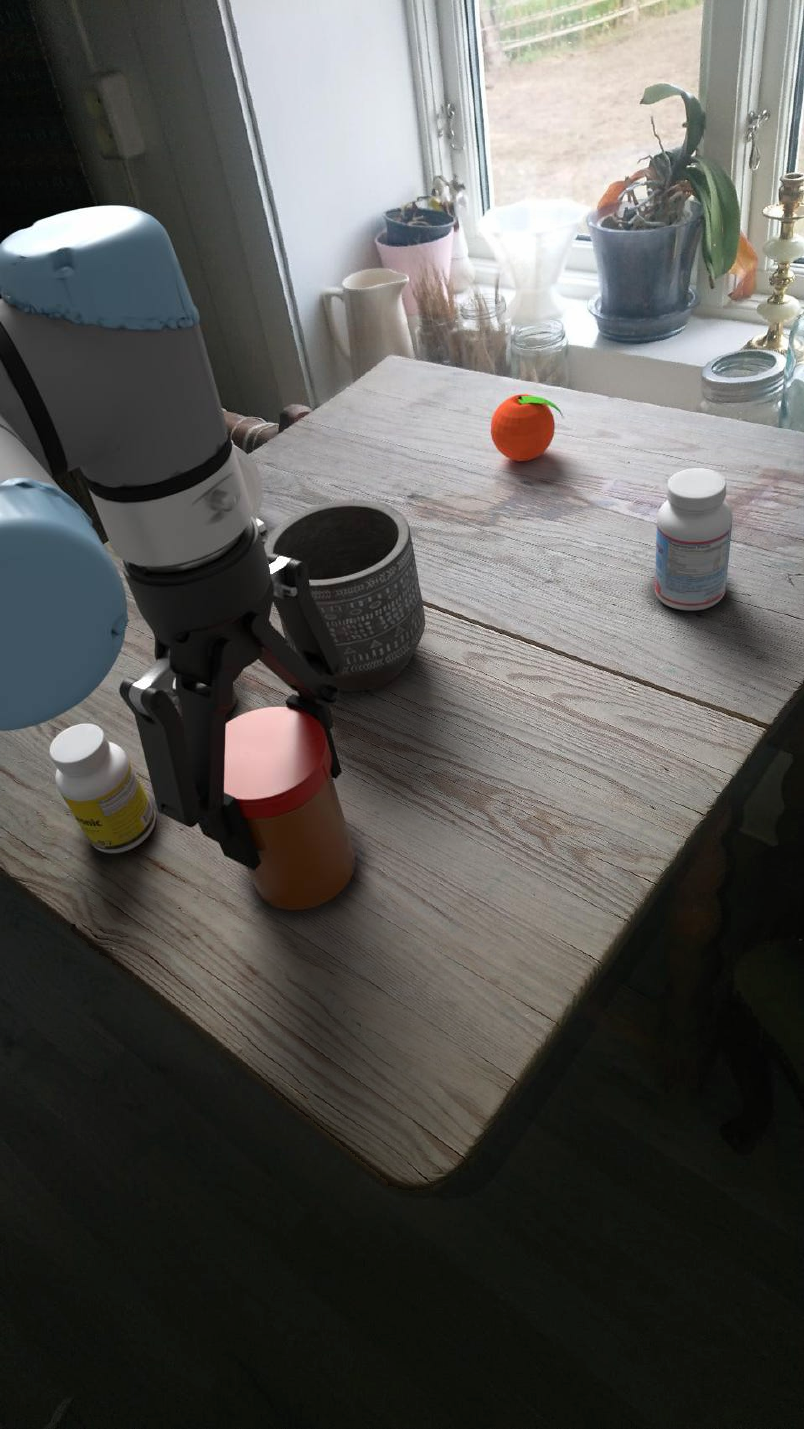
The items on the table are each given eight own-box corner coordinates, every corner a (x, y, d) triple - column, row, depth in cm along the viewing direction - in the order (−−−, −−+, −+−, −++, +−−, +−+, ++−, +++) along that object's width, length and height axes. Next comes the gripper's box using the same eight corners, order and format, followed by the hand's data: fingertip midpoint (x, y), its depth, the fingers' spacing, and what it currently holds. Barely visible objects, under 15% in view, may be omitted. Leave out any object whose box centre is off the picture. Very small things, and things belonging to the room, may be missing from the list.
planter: (351, 603, 93) (324, 486, 84) (457, 638, 87) (439, 516, 78) (268, 680, 87) (230, 562, 78) (376, 724, 81) (348, 601, 72)
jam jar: (233, 894, 70) (186, 788, 62) (285, 816, 75) (246, 708, 67) (325, 923, 67) (287, 815, 59) (372, 840, 72) (343, 730, 64)
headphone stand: (206, 534, 106) (172, 433, 98) (253, 510, 108) (224, 410, 100) (226, 550, 103) (193, 447, 95) (274, 525, 105) (246, 423, 97)
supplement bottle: (77, 831, 77) (26, 745, 70) (135, 791, 79) (91, 704, 73) (111, 868, 74) (61, 781, 67) (170, 825, 76) (127, 737, 69)
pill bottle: (665, 567, 90) (670, 458, 82) (732, 578, 87) (744, 467, 80) (645, 606, 86) (648, 497, 79) (715, 619, 84) (725, 507, 76)
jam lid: (350, 733, 65) (345, 714, 64) (304, 828, 60) (297, 809, 59) (240, 718, 68) (233, 700, 67) (186, 808, 63) (177, 789, 61)
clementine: (569, 439, 109) (567, 379, 104) (562, 472, 104) (559, 411, 100) (498, 441, 111) (493, 382, 106) (488, 473, 107) (482, 413, 102)
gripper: (86, 676, 44) (224, 952, 59) (358, 449, 55) (414, 731, 71) (-15, 633, 47) (139, 904, 63) (259, 428, 59) (333, 700, 74)
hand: (284, 812), depth 67 cm, fingers closed on jam lid, 8 cm apart
